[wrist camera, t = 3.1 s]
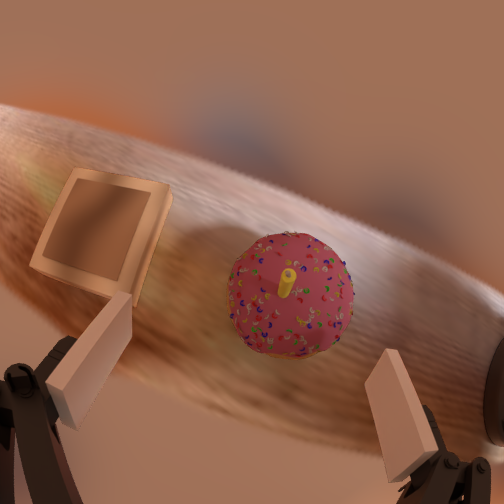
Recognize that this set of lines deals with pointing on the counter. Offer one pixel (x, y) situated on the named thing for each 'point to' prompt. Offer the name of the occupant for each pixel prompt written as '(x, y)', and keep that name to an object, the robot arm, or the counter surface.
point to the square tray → (103, 232)
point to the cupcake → (290, 296)
